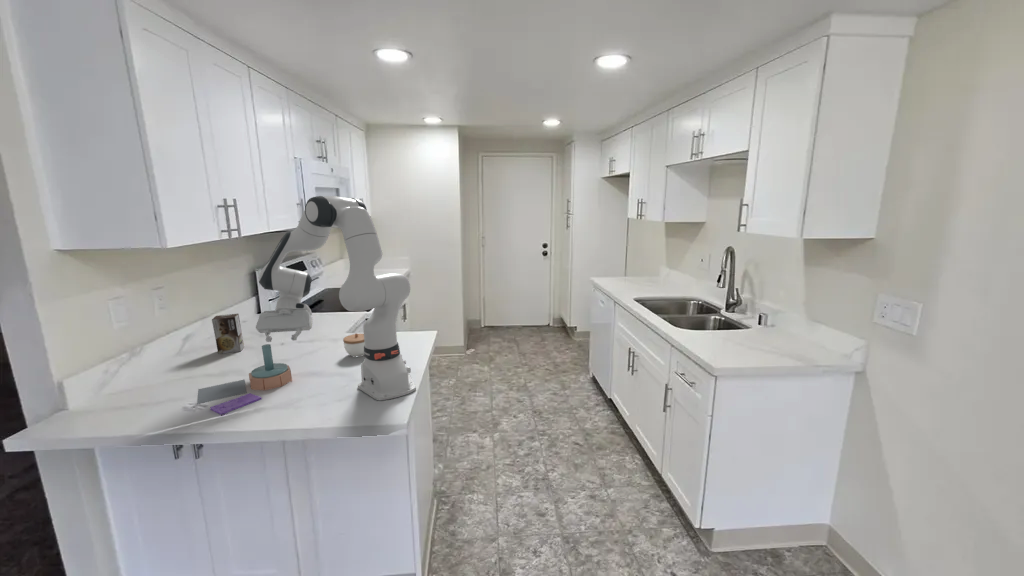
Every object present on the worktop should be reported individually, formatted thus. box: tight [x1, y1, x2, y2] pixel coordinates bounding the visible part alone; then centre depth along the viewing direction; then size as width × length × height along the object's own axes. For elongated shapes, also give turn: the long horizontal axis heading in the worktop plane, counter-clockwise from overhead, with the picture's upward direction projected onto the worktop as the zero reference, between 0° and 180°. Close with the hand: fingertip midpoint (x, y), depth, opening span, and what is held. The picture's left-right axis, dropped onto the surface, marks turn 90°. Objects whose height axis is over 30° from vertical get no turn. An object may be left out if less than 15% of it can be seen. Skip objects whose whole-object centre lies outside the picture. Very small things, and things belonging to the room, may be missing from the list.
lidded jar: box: [342, 333, 365, 358], centre depth 185 cm, size 11×11×9 cm
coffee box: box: [211, 313, 245, 355], centre depth 193 cm, size 9×6×16 cm
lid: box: [250, 343, 289, 378], centre depth 157 cm, size 12×12×10 cm
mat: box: [196, 379, 248, 405], centre depth 152 cm, size 14×14×1 cm
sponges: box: [209, 392, 262, 417], centre depth 142 cm, size 7×13×2 cm, turn 147°
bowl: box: [248, 364, 293, 391], centre depth 158 cm, size 13×13×4 cm
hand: (281, 340), depth 168 cm, fingers open, 8 cm apart
